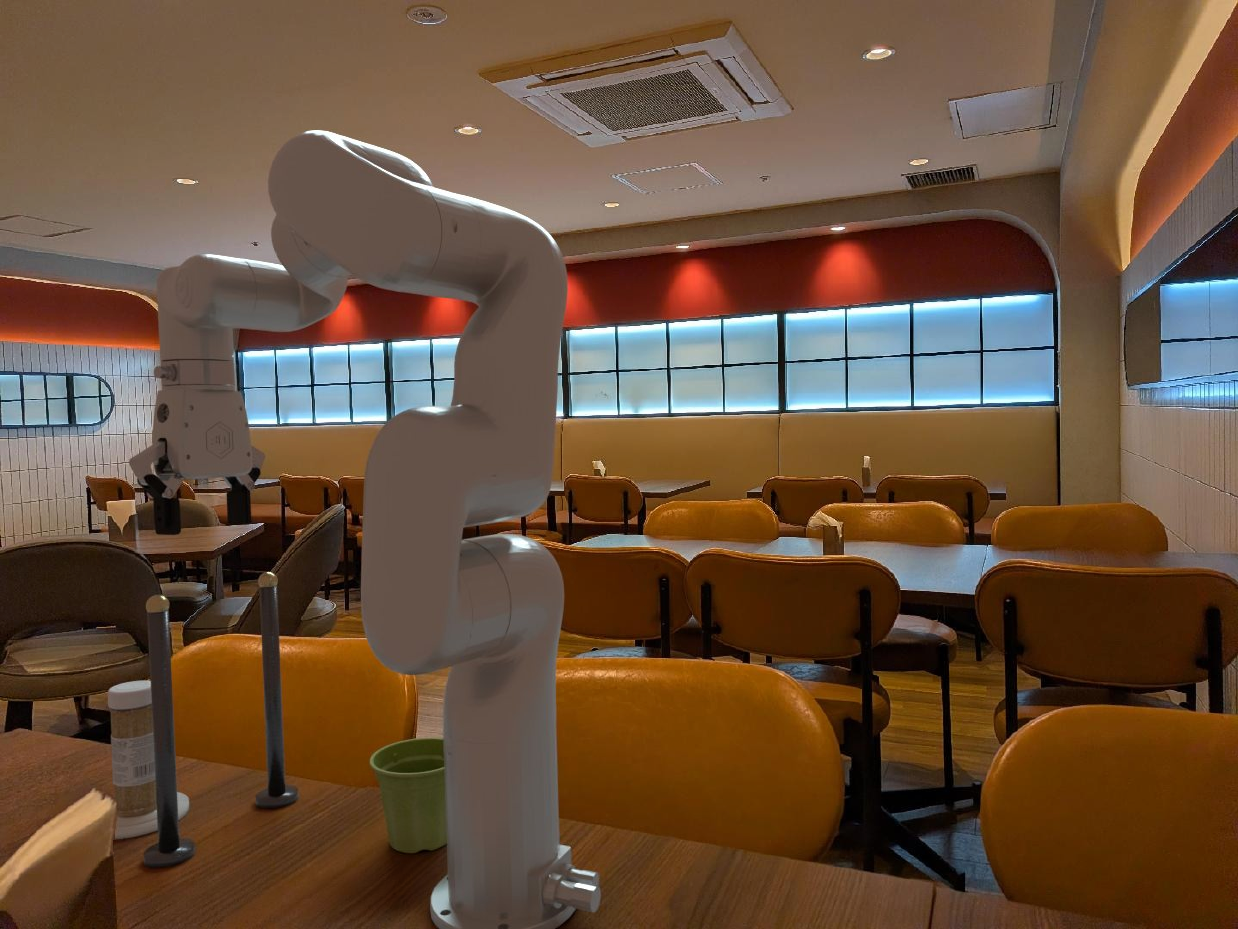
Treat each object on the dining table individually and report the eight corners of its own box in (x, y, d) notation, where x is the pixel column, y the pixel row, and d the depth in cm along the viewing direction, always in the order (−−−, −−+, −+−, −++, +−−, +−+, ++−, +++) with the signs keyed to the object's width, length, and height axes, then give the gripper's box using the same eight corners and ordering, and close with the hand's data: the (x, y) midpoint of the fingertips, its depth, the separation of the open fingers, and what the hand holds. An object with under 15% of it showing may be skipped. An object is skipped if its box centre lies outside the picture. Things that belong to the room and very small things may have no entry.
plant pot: (487, 827, 88) (485, 744, 88) (430, 871, 80) (427, 779, 79) (414, 812, 92) (411, 732, 92) (352, 853, 84) (348, 765, 83)
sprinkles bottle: (156, 796, 96) (151, 676, 95) (165, 810, 92) (161, 685, 91) (109, 808, 93) (104, 684, 92) (116, 823, 89) (111, 694, 89)
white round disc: (209, 805, 95) (209, 797, 95) (125, 847, 86) (125, 837, 86) (147, 792, 99) (146, 784, 99) (60, 830, 90) (60, 821, 90)
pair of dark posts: (306, 795, 97) (297, 569, 96) (165, 871, 81) (152, 600, 80) (277, 789, 99) (268, 568, 98) (133, 863, 83) (120, 598, 81)
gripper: (153, 373, 88) (161, 539, 89) (281, 380, 104) (287, 521, 105) (103, 376, 91) (112, 538, 92) (235, 383, 107) (241, 520, 108)
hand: (205, 529), depth 98 cm, fingers open, 9 cm apart
